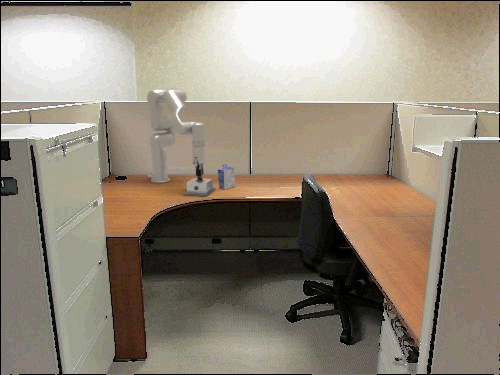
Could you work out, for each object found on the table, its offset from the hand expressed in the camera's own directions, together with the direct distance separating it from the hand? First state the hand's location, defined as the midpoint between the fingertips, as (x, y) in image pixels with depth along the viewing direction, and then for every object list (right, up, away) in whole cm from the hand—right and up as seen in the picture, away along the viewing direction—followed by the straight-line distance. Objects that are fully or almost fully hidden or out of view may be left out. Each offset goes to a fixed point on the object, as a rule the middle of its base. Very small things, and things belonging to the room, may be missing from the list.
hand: (199, 175), depth 258 cm
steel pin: (0, -3, +1) cm, 3 cm away
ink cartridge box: (+15, -8, +14) cm, 22 cm away
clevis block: (0, -10, +3) cm, 11 cm away
